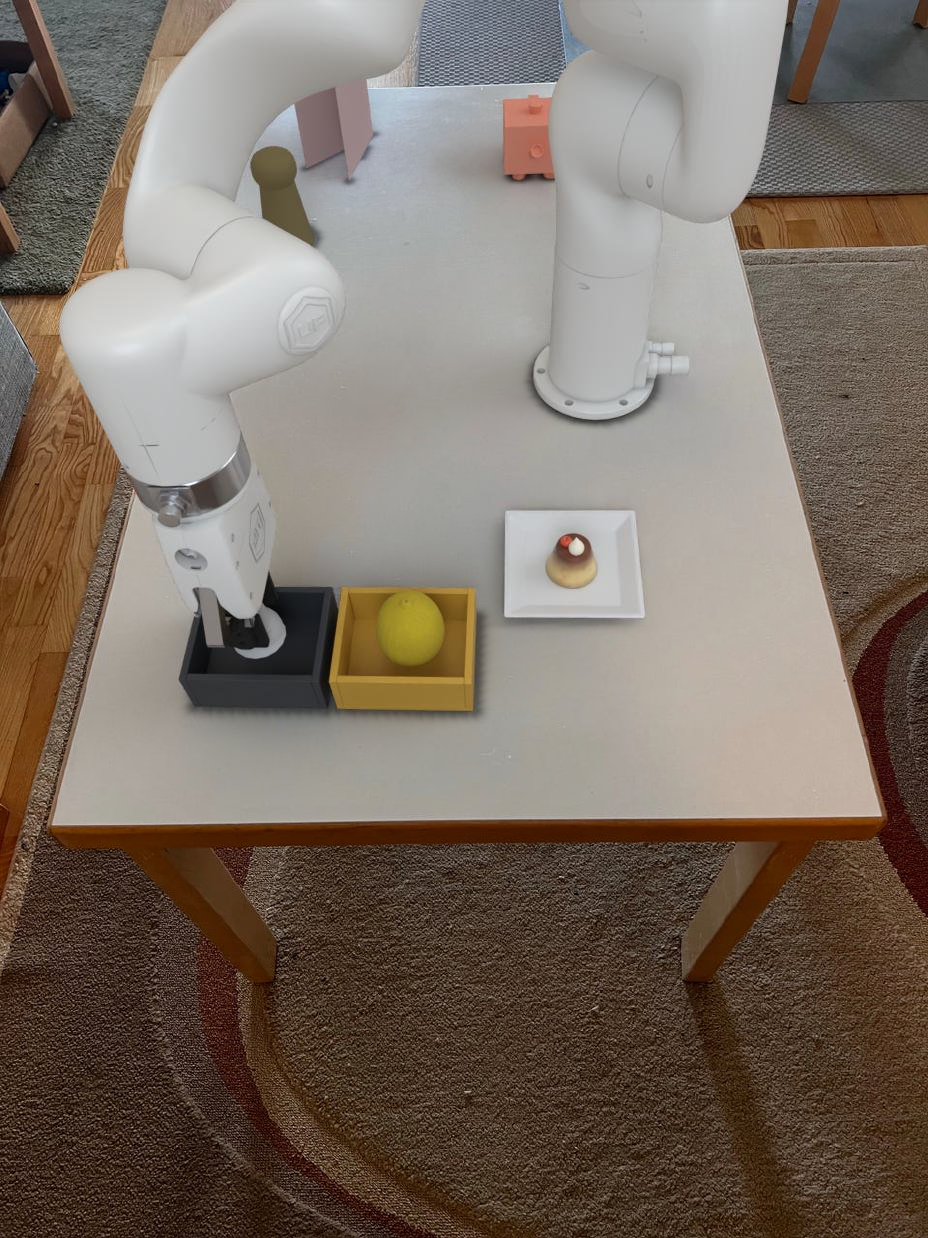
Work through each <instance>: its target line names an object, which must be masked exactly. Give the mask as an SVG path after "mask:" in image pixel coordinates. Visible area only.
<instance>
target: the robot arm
mask: <svg viewBox="0 0 928 1238" xmlns="http://www.w3.org/2000/svg"><path fill="white" fill-rule="evenodd" d="M426 2H427V0H236V1H235V2H233V3H232V4H231V5H230V6H229V7H228V8H227V9H226V10H224V12H223V13H221V14H220V16H218V17H217V18H216V19H215V20H214V22H212V23H211V24H210V25H209V27H207V28H206V30H205V31H204V32H203V33H202V35H201V36H200V37H199V38H198V40H197V41H195V43H194V44H193V46H192V47H190V49H189V50H188V52H187V53H186V55H184V56H183V57H182V59H181V60H180V61H179V63H178V64H177V65H176V67H174V69H173V70H172V72H171V73H170V74H169V75H168V77H167V79H166V80H165V82H164V83H163V85H162V87H161V88H160V90H159V92H158V94H157V96H156V97H155V99H154V102H153V103H152V106H151V107H150V108H151V109H150V111H149V113H148V115H147V119H146V122H145V125H144V127H143V130H142V135H141V138H140V143H139V146H138V150H137V153H136V158H135V160H134V161H135V162H134V166H133V169H132V173H131V178H130V182H129V184H128V185H129V186H128V189H127V194H126V199H125V204H124V212H123V225H122V244H123V245H122V246H123V253H124V258H125V260H126V263H127V267H128V268H127V267H126V268H120V269H116V270H112V271H109V272H106V273H103V274H99V275H98V276H96V277H94V278H92V279H90V280H88V281H87V282H85V283H83V285H81V286H80V287H78V288H77V289H76V290H75V291H74V292H73V293H72V294H71V296H69V298H68V299H67V300H66V302H65V304H64V306H63V307H62V310H61V312H60V316H59V321H58V329H59V338H60V343H61V346H62V347H63V351H64V352H65V355H66V357H67V359H68V361H69V363H70V365H71V367H72V369H73V371H74V373H75V375H76V377H77V379H78V381H79V383H80V385H81V387H82V389H83V391H84V393H85V395H86V397H87V399H88V401H89V403H90V405H91V407H92V409H93V411H94V413H95V415H96V416H97V419H98V421H99V423H100V425H101V427H102V429H103V431H104V432H105V434H106V435H105V436H106V437H107V439H108V441H109V443H110V445H111V447H112V449H113V451H114V453H115V454H116V457H117V459H118V461H119V463H120V465H121V467H122V469H123V471H124V472H125V475H126V477H127V479H128V481H129V483H130V485H131V487H132V488H133V490H134V493H135V495H136V496H137V499H138V500H139V502H140V504H141V506H142V507H143V508H144V509H145V510H146V511H147V512H148V513H149V514H151V522H152V525H153V528H154V531H155V535H156V538H157V541H158V544H159V547H160V550H161V553H162V555H163V559H164V561H165V564H166V567H167V569H168V572H169V574H170V577H171V579H172V581H173V584H174V586H175V588H176V590H177V592H178V594H179V596H180V598H181V600H182V602H183V604H184V605H185V607H186V609H188V611H189V612H190V613H191V614H192V615H193V617H194V616H195V617H197V618H199V617H200V616H201V615H202V618H203V624H204V631H205V637H206V644H207V647H226V646H227V644H229V646H231V647H234V648H237V649H240V650H252V649H254V648H267V647H269V643H270V639H269V637H268V634H267V632H266V629H265V627H264V624H263V622H262V619H261V617H260V614H258V613H257V612H258V611H259V609H260V606H261V603H263V604H264V605H273V604H275V603H277V600H278V594H277V592H276V589H275V583H274V580H273V578H272V575H271V572H270V566H271V565H270V564H271V560H272V553H273V549H274V543H275V538H276V532H277V531H276V530H277V517H276V512H275V509H274V507H273V504H272V501H271V498H270V496H269V493H268V490H267V488H266V485H265V483H264V480H263V477H262V475H261V473H260V471H259V468H258V466H257V464H256V462H255V460H254V458H253V456H252V454H251V452H250V450H249V449H248V447H247V444H246V442H245V439H244V435H243V432H242V429H241V426H240V424H239V419H238V417H237V414H236V412H235V407H234V405H233V401H232V399H231V396H230V393H232V392H234V391H237V390H239V389H242V388H245V387H247V386H250V385H252V384H255V383H258V382H261V381H263V380H265V379H268V378H271V377H273V376H276V375H279V374H281V373H284V372H286V371H289V370H291V369H293V368H295V367H298V366H300V365H302V364H303V363H305V362H307V361H308V360H310V359H313V357H315V356H316V355H318V354H319V353H320V352H322V351H323V349H324V348H325V347H326V346H327V345H328V344H329V343H331V341H332V340H333V338H335V335H336V334H337V333H338V331H339V329H340V327H341V325H342V323H343V320H344V318H345V312H346V308H347V307H346V306H347V296H346V288H345V284H344V281H343V279H342V277H341V274H340V272H339V271H338V269H337V268H336V267H335V265H334V264H333V262H332V261H331V260H330V259H329V258H328V257H327V256H326V255H324V253H322V252H321V251H319V250H318V249H317V248H315V247H314V246H312V245H309V244H308V243H306V242H304V241H302V240H301V239H299V238H297V237H295V236H293V235H292V234H290V233H288V232H286V231H284V230H282V229H281V228H279V227H277V226H275V225H273V224H272V223H270V222H269V221H267V220H265V219H263V218H262V216H261V215H258V214H256V213H255V212H253V211H251V210H250V209H247V208H246V207H244V206H242V205H241V204H239V203H237V202H236V199H237V196H238V191H239V188H240V186H241V182H242V179H243V175H244V172H245V168H246V166H247V164H248V161H249V159H250V157H251V154H252V152H253V150H254V149H255V147H256V145H257V143H258V141H259V140H260V139H261V137H262V136H263V134H264V133H265V132H266V130H267V129H268V128H269V126H270V125H271V124H273V122H275V120H276V119H277V118H278V117H279V116H280V115H282V113H284V112H285V111H286V110H288V109H289V108H290V107H292V106H293V105H294V104H295V103H297V102H298V101H300V100H302V99H304V98H306V97H308V96H311V95H313V94H315V93H318V92H321V91H324V90H328V89H331V88H334V87H337V86H341V85H345V84H348V83H352V82H357V81H361V80H369V79H375V78H379V77H382V76H384V75H385V76H386V75H387V74H390V73H391V72H393V71H394V70H396V69H398V68H399V67H400V65H402V63H404V61H405V60H406V59H407V56H408V54H409V52H410V49H411V46H412V43H413V39H414V36H415V34H416V31H417V28H418V25H419V23H420V19H421V16H422V14H423V11H424V8H425V4H426ZM789 2H790V1H789V0H562V5H563V11H564V16H565V17H564V18H565V20H566V23H567V27H568V28H569V30H570V32H571V34H572V35H573V36H574V37H575V39H576V40H577V41H578V42H580V43H581V44H583V45H584V46H586V47H587V48H589V50H587V51H584V52H583V53H581V54H580V55H578V56H577V57H575V58H574V59H573V60H571V61H570V63H568V65H567V66H566V67H565V68H564V69H563V71H562V73H561V74H560V76H559V78H558V79H557V81H556V84H555V86H554V89H553V92H552V95H551V97H552V98H551V103H550V108H549V118H548V131H549V144H550V151H551V158H552V164H553V170H554V176H555V178H554V185H555V198H556V199H555V202H556V203H555V205H556V208H555V209H556V212H555V213H556V214H555V215H556V216H555V236H554V237H555V240H554V243H555V244H554V252H553V253H554V254H553V256H554V257H553V273H552V274H553V275H552V291H551V292H552V293H551V313H550V314H551V315H550V329H549V331H550V332H549V344H548V345H546V346H545V347H544V348H543V349H542V350H541V351H540V353H539V354H538V355H537V358H536V359H535V362H534V365H533V375H532V376H533V384H534V388H535V390H536V392H537V394H538V396H539V397H540V398H541V399H542V400H543V401H544V402H545V403H546V404H547V406H550V408H552V409H554V410H555V411H558V412H559V413H561V414H564V415H567V416H570V417H572V418H577V419H582V420H593V421H599V420H600V421H601V420H610V419H614V418H620V417H622V416H624V415H627V414H629V413H630V414H631V412H634V410H635V411H636V409H639V408H640V407H641V406H642V405H643V404H644V403H645V402H646V401H648V399H649V397H650V396H651V394H652V391H653V389H654V386H655V379H656V378H657V376H658V375H669V376H688V375H689V371H690V356H689V355H675V347H676V345H675V342H674V341H673V342H672V341H669V342H667V341H665V342H664V341H661V342H653V341H652V340H650V339H648V336H647V334H648V327H649V322H650V321H649V320H650V314H651V308H652V304H653V303H652V301H653V296H654V289H655V283H656V278H657V277H656V276H657V271H658V265H659V258H660V252H661V248H662V241H663V227H664V226H663V224H664V223H663V214H662V213H663V212H664V213H666V214H668V215H670V216H673V217H676V218H677V219H681V220H683V221H686V222H690V223H693V224H699V225H703V224H704V225H705V224H713V223H716V222H717V223H718V222H719V221H722V220H723V219H725V218H727V217H728V216H730V215H731V214H732V213H733V212H734V211H735V210H737V209H738V208H739V206H740V205H741V204H742V203H743V201H744V199H746V197H747V195H748V193H749V192H750V190H751V187H752V186H753V183H754V182H755V179H756V176H757V174H758V171H759V168H760V164H761V162H762V158H763V155H764V149H765V146H766V140H767V137H768V130H769V124H770V119H771V114H772V113H771V112H772V107H773V101H774V96H775V95H774V94H775V90H776V83H777V76H778V72H779V71H778V70H779V64H780V59H781V55H782V54H781V53H782V46H783V41H784V34H785V29H786V24H787V17H788V7H789ZM224 609H226V610H225V611H224Z"/></svg>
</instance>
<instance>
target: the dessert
mask: <svg viewBox="0 0 928 1238" xmlns="http://www.w3.org/2000/svg"><path fill="white" fill-rule="evenodd" d="M637 528H638V527H637V519H636V511H635V510H633V509H629V510H628V509H627V510H625V509H623V510H621V509H618V510H617V509H615V510H614V509H613V510H612V509H609V510H607V509H605V510H604V509H603V510H602V509H601V510H600V509H596V510H595V509H594V510H593V509H591V510H589V509H588V510H585V509H583V510H581V509H580V510H577V509H576V510H575V509H574V510H573V509H571V510H570V509H569V510H566V509H564V510H563V509H562V510H559V509H558V510H555V509H554V510H553V509H551V510H550V509H549V510H547V509H546V510H545V509H544V510H543V509H541V510H540V509H539V510H538V509H536V510H535V509H533V510H531V509H529V510H526V509H525V510H523V509H520V510H519V509H516V510H515V509H510V510H508V509H507V510H505V511H504V593H503V594H504V597H503V598H504V599H503V601H504V607H503V611H504V613H503V614H504V615H503V616H504V617H505V618H562V619H563V618H571V619H573V618H576V619H577V618H578V619H579V618H580V619H582V618H583V619H585V618H589V619H597V618H598V619H644V618H645V617H646V611H645V601H644V591H643V580H642V571H641V570H642V569H641V560H640V550H639V549H640V548H639V538H638V529H637Z"/></svg>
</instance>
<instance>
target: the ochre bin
mask: <svg viewBox="0 0 928 1238" xmlns="http://www.w3.org/2000/svg"><path fill="white" fill-rule="evenodd" d="M407 590H411V591H417V592H420V593H423V594H425V595H426V596H428V597H429V598H430V599H431V600H432V601H433V602H434V603H435V604H436V605H437V607H438V609H439V611H440V613H441V615H442V617H443V622H444V627H445V632H444V640H443V643H442V646H441V648H440V651H439V652H438V653H437V654H436V656H435V657H434V658H433V659H431V660H430V661H429V662H427V663H425V664H423V665H420V666H416V667H407V666H402V665H399V664H397V663H395V662H393V661H392V660H390V659H389V658H388V657H387V656H386V655H385V653H384V652H383V650H382V649H381V647H380V645H379V642H378V639H377V635H376V621H377V616H378V613H379V610H380V608H381V606H382V605H383V603H384V602H385V601H386V600H387V599H388V598H389V597H390V596H392V595H394V594H395V593H398V592H401V591H407ZM476 598H477V597H476V588H475V587H399V586H397V587H396V586H395V587H390V586H389V587H387V586H386V587H385V586H383V587H381V586H342V587H341V591H340V599H339V606H338V611H339V612H338V619H337V626H336V634H335V641H334V648H333V655H332V663H331V670H330V677H329V683H330V687H331V688H330V691H331V692H332V696H333V700H334V702H335V705H336V708H337V709H338V710H380V711H381V710H383V711H384V710H385V711H387V710H389V711H391V710H392V711H445V712H446V711H447V712H448V711H450V712H453V711H454V712H474V701H475V699H474V697H475V673H476V672H475V671H476V670H475V669H476V645H477V643H476V641H477V601H476Z"/></svg>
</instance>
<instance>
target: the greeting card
mask: <svg viewBox="0 0 928 1238" xmlns="http://www.w3.org/2000/svg"><path fill="white" fill-rule="evenodd" d="M367 80H368V79H366V80H361V81H357V82H352V83H348V84H345V85H341V86H337V87H334V88H331V89H328V90H324V91H321V92H318V93H315V94H313V95H311V96H308V97H306V98H304V99H302V100H300V101H298V102H297V103H295V104H293V105H294V111H295V116H296V122H297V126H298V132H299V137H300V142H301V146H302V147H301V148H302V153H303V158H304V163H305V168H306V169H308V168H311V167H313V166H314V165H317V164H318V163H321V162H323V161H325V160H326V159H328V158H330V157H333V156H334V155H336V154H339V153H341V152H342V151H344V157H345V164H346V170H347V176H348V182H350V181H351V179H352V177H353V176H354V173H355V171H356V169H357V168H358V166H359V164H360V161H362V157H363V156H364V154H365V152H366V149H367V148H368V146H369V144H370V142H371V140H372V138H373V136H374V130H373V124H372V123H373V122H372V115H371V105H370V97H369V89H368V81H367Z"/></svg>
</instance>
